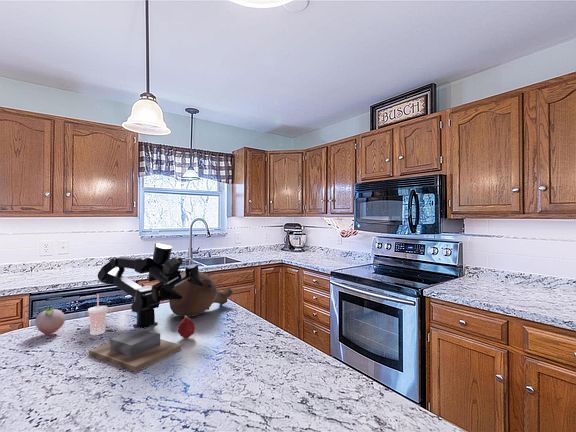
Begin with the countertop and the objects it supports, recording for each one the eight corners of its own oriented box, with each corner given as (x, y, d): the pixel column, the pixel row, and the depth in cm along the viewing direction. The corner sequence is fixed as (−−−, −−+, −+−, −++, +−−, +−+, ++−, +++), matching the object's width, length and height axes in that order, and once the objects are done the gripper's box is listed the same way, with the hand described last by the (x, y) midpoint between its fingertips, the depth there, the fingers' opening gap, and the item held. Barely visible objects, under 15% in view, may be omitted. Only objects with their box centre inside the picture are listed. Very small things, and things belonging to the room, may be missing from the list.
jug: (172, 327, 116) (235, 321, 137) (185, 278, 115) (246, 280, 137) (153, 305, 130) (212, 303, 151) (165, 262, 130) (222, 266, 151)
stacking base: (88, 355, 92) (88, 338, 92) (136, 336, 106) (136, 322, 106) (135, 372, 82) (135, 353, 82) (181, 349, 96) (181, 333, 96)
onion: (197, 335, 107) (197, 313, 107) (190, 342, 101) (191, 318, 101) (182, 335, 108) (182, 312, 108) (174, 341, 102) (174, 318, 102)
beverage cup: (104, 334, 108) (104, 295, 108) (84, 336, 106) (85, 297, 106) (109, 328, 114) (110, 291, 114) (91, 330, 112) (91, 292, 112)
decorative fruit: (68, 334, 108) (68, 306, 108) (39, 341, 102) (39, 312, 102) (61, 328, 114) (61, 301, 114) (33, 334, 108) (33, 306, 108)
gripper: (138, 266, 102) (168, 284, 95) (182, 246, 117) (212, 260, 110) (141, 293, 106) (171, 312, 99) (184, 270, 121) (212, 285, 114)
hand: (192, 291), depth 105 cm, fingers open, 9 cm apart
